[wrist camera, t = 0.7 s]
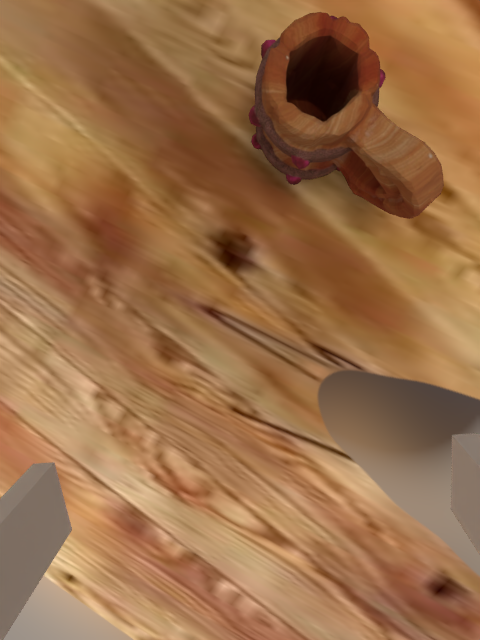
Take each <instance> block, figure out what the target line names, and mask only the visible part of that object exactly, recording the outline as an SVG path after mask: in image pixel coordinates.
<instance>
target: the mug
mask: <svg viewBox="0 0 480 640" xmlns="http://www.w3.org/2000/svg"><path fill="white" fill-rule="evenodd" d="M261 55H262V61H261V64H260V67H259V70H258V73H257V76H256V85H255V105H254V106H253V107H252V108H251V110H250V113H249V119H250V122H251V124H253V125H254V126H256V134H254V135H253V137H252V141H251V142H252V144H253V146H254V147H255V148H257V149H262V151H263V152H264V154H265V156H266V158H267V159H268V160H269V162H270V163H271V164H272V165H273V166H274V167H275V168H277V169H278V170H279V171H280V172H282V173H284V174H286V178H287V181H288V182H289V183H290V184H293V185H295V184H298V183H299V182H300V181H301V179H308V180H310V179H314V178H318V177H321V176H325V175H327V174H329V173H331V172H332V171H334V170H336V169H337V170H338V171H341V172H342V174H343V175H344V177H345V178H346V181H347V183H348V185H349V187H350V189H351V190H352V192H353V193H354V194H356V195H358V196H360V197H362V198H364V199H366V200H367V201H369V202H370V203H372V204H374V205H375V206H377V207H379V208H380V209H382V210H384V211H386V212H388V213H390V214H393V215H396V216H399V217H403V218H409V219H410V218H413V217H416V216H418V215H419V214H420V213H421V212H422V211H423V210H424V209H425V208H426V207H427V206H428V205H429V204H430V203H432V201H433V200H434V199H435V198H437V197H438V196H439V195H440V194H441V191H442V188H443V186H444V185H443V173H442V167H441V164H440V162H439V160H438V158H437V157H436V155H435V153H434V152H433V151H432V150H431V149H430V148H429V147H428V146H427V145H426V143H425V142H423V141H421V140H420V139H418V138H416V137H415V136H413V135H411V134H410V133H408V132H406V131H405V130H403V129H401V128H399V127H398V126H397V125H395V124H394V123H393V122H392V121H390V120H389V119H388V118H387V117H386V116H385V115H384V114H383V113H382V112H381V111H380V110H379V109H378V108H377V106H378V102H379V88H380V87H381V86H382V84H383V82H384V80H385V73H384V71H383V70H382V69H380V62H379V58H378V56H377V54H376V52H374V51H372V50H371V49H369V37H368V35H367V33H366V31H365V30H364V29H363V28H362V27H361V26H360V25H359V24H357V23H351V22H349V20H348V19H347V18H346V17H340V18H336V17H334V16H331V17H330V16H329V15H328V14H327V13H321V12H318V13H310V14H308V15H306V16H303V17H301V18H299V19H297V20H295V21H294V22H293V23H292V24H291V25H290V26H289V27H288V28H287V29H286V30H284V31H283V33H282V34H281V37H280V38H279V39H278V40H277V41H276V40H266V41H265V42H264V43H263V44H262V45H261Z"/></svg>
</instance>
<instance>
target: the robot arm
mask: <svg viewBox="0 0 480 640" xmlns="http://www.w3.org/2000/svg"><path fill="white" fill-rule="evenodd" d="M451 485H452V486H451V487H452V488H451V510H452V512H453V513H454V515H455V517H456V518H457V520H458V521H459V523H460V524H461V526H462V528H463V529H464V531H465V532H466V534H467V535H468V537H469V539H470V540H471V542H472V543H473V545H474V547H475V548H476V550H477V551H478V553H479V554H480V435H479V434H478V433H474V434H460V435H452V484H451ZM71 530H72V528H71V524H70V520H69V516H68V512H67V509H66V505H65V501H64V497H63V494H62V490H61V486H60V482H59V478H58V475H57V471H56V467H55V463H54V462H53V463H39V464H33V465H32V466H31V467H30V468H29V469H28V470H27V471H26V472H25V473H24V474H23V475H22V476H21V477H20V478H19V479H18V480H17V481H16V483H15V484H14V485H13V486H12V487H11V488H10V489H9V490H8V491H7V492H6V493H5V494H4V495H3V496H2V497H1V498H0V640H3V639H4V637H5V636H6V634H7V632H8V631H9V629H10V628H11V626H12V625H13V623H14V621H15V620H16V618H17V617H18V615H19V613H20V612H21V610H22V609H23V607H24V605H25V604H26V602H27V601H28V599H29V597H30V596H31V594H32V592H33V591H34V589H35V588H36V586H37V585H38V583H39V581H40V580H41V578H42V577H43V575H44V573H45V572H46V570H47V569H48V567H49V566H50V564H51V562H52V561H53V559H54V558H55V556H56V554H57V553H58V551H59V550H60V548H61V546H62V545H63V543H64V542H65V540H66V538H67V537H68V535H69V534H70V532H71Z"/></svg>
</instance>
